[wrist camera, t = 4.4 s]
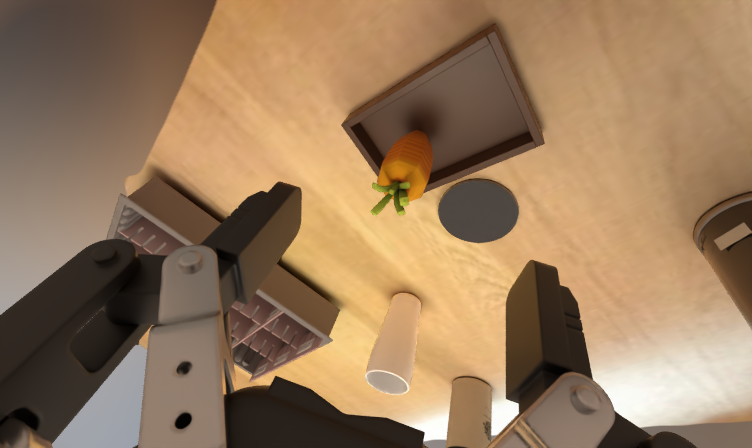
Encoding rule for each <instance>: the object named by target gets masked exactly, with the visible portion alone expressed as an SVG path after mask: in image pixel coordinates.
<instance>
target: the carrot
mask: <svg viewBox="0 0 752 448" xmlns="http://www.w3.org/2000/svg"><path fill="white" fill-rule="evenodd" d="M432 162H433V151H432V145H431V143H430V141H429V139H428V138H427V136H426V134H425V133H424V132H422V131H419V130H415V131H413V132H411V133H408V134H406V135H404V136H402V137H401V138H400V139H399V140H398V141H397V142H396V143H395V144H394V145H393V146H392V147H391V149H390V150H389V152H388V154H387V155H386V157H385V159H384V161H383V162H382V166H381V169H380V173H379V176H378V180H377V183H378V184H379V185H378V184H376V183H373V184H372V188H373V189H375V190H377V191H379V192H384V194H385V195H386V196H385V197H384V198H383V199H382V200H381V201H380V202H379V203H378V204H377V205H376V206H375V207H374V208H373V209H372V210H371V213H372V214H373V215H375V216H376V215H377V214H379V213H380V212H381V211H382V209H383V208H384V207H385V206H386V204H387V203H388V202H389V201H390V199H393V200H394V205H395V208H396V211H397V213H398V215H399V216H400V215H404V214H405V211H404V208H403V206H407V205H409V201H412V200H415V199H418V198H420V197H421V196H422V195H423V192H424V190H425V187H426V185H427V182H428V180H429V177H430V172H431V168H432Z"/></svg>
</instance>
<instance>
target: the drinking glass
mask: <svg viewBox="0 0 752 448" xmlns="http://www.w3.org/2000/svg"><path fill="white" fill-rule="evenodd" d="M420 312H421V302H420V301H419V299H418V298H417V297H415V296H414V295H412V294H409V293H398V294H396V295H394V296H393V298H392V300H391V303H390V306H389V309H388V311H387V314H386V316H385V319H384V321H383V324H382V326H381V329H380V331H379V334H378V336H377V339H376V341H375V344H374V346H373V349H372V352H371V354H370V358H369V361H368V365H367V369H366V373H365V379H366V381H367V383H368V384H369V385H370V386H372V387H373V388H375V389H376V390H379V391H381V392H384V393H387V394H392V395H401V394H405V393H406V392H408V390H409V388H410V384H411V380H412V375H413V370H414V364H415V356H416V347H417V337H418V327H419V318H420Z"/></svg>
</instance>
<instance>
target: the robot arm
mask: <svg viewBox="0 0 752 448" xmlns="http://www.w3.org/2000/svg"><path fill="white" fill-rule="evenodd" d="M301 200H302V192H301V188H300V187H296V186H293V185H290V184H287V183H283V182H278V183H276V184H275V185H274V186H273V187H272V189H271V190H270V191H269V192H268V193H267V192H264V191H260V192H258V193H256V194H254V195H251V196H249V197H248V198H247V199H246V200H244V201H243V202H242V203H241V204H240V205H239V206H238V209H237V208H236V209H235V210H234V211H233V212H232V213H231V216H228V217H227V218H226V219H225V220H224V221H223V222H222V223H221V224H220V225H219V226H218V227H217V228H216V229H215V230H214V231H213V232H212V233H211V234H210V235H209V236H208V237H207V238H206V239H205V240H204V241H203V242H202V243H201V244H200V245H188V246H184V247H181V248H179V249H177V250H175V251H173V252H172V253H170V254H169V255H148V254H137V252H136V249H135V247H134V245H133V244H132V243H130V242H128V241H126V240H122V239H109V240H103V241H100V242H97V243H94V244H92V245H90V246H88V247H86V248H85V249H84V250H82V251H81V252H80V253H78V254H77V255H76V256H75V257H73V258H72V259H71V260H70V261H68V262H67V263H66V264H65V265H63V266H62V267H61V268H59V269H58V270H57V271H56V272H54V273H53V274H52V275H51V276H49V277H48V278H47V279H45V280H44V281H43V282H42V283H40V284H39V285H38V286H37V287H35V288H34V289H33V290H32V291H30V292H29V293H28V294H27V295H26V296H24V297H23V298H21V299H20V300H19V301H18V302H16V303H15V304H14V305H13V306H11V307H10V308H9V309H8V310H6V311H5V312H4V313H3V314H2V315H0V448H52V443H53V442H54V441H55V440H56V438H57V437H58V436H59V435H60V434H61V432H62V431H63V430H64V429H65V428H66V427H67V425H68V424H69V423H70V422H71V421H72V419H73V418H74V417H75V416H76V415H77V413H78V412H79V411H80V410H81V409H82V408H83V406H84V405H85V404H86V403H87V402H88V400H89V399H90V398H91V397H92V396H93V394H94V393H95V392H96V391H97V390H98V388H99V387H100V386H101V385H102V384H103V382H104V381H105V380H106V379H107V378H108V376H109V375H110V374H111V373H112V372H113V371H114V369H115V368H116V367H117V366H118V365H119V363H120V362H121V361H122V360H123V359H124V358H125V356H126V355H127V354H128V353H129V352H130V350H131V349H132V348H133V347H134V346H135V345H136V343H137V342H138V341H139V340H140V339H141V337H142V336H143V335H144V334H145V333H146V331H147V330H148V329H149V328H150V327H151V326H152V325H154V326H152V327H151V329H150V332H149V338H148V348H147V359H146V370H145V380H144V390H143V400H142V412H141V422H140V432H139V442H138V445H137V446H135V447H133V448H427V447H426V446H425V445H423V439H424V433H425V432H423V431H420V430H417V429H415V428H412V427H409V426H407V425H404V424H401V423H399V422H396V421H394V420H391V419H388V418H382V417H371V416H359V415H348V414H344V413H342V412H341V411H339V410H338V409H337V408H335V407H334V406H333V405H331V404H330V403H329V402H327V401H326V400H325V399H323V398H322V397H321V396H319V395H318V394H317V393H315V392H314V391H313V390H311V389H309V388H306V387H304V386H301V385H299V384H296V383H293V382H291V381H288V380H285V379H283V378H280V377H277V376H275V378H274V380H273V382H272V384H271V385H270V386H266V385H264V386H252V387H247V388H243V389H240V390H237V383H236V376H235V370H234V362H233V350H232V338H231V327H230V315H229V309H230V308H231V306H232V305H233V304H234V302H235V301H237V302H240V303H242V304H245V305H247V304H248V303H249V301H250V300H251V299H252V297H253V296H254V294H255V293H256V292H257V290H258V289H259V287H260V286H261V285H262V283H263V282H264V280H265V279H266V278H267V276H268V275H269V273H270V272H271V271H272V269H273V268H274V266H275V265H276V264H277V262H278V261H279V259H280V258H281V257H282V255H283V254H284V252H285V251H286V250H287V248H288V247H289V245H290V244H291V243H292V241H293V240H294V238H295V237H296V235H297V234H298V231H299V229H300V225H301ZM693 237H694V241H695V244H696V245H697V247H698V249H699V250H700V252H701V253H702V254H703V255H704V257H705V258H706V260H707V261H708V262H709V264H710V265H711V267H712V269H713V270H714V272H715V273H716V275H717V276H718V278H719V280H720V281H721V283H722V284H723V286H724V287H725V289H726V290H727V292H728V294H729V295H730V297H731V298H732V300H733V301H734V303H735V304H736V306H737V308H738V309H739V311H740V312H741V314H742V315H743V317H744V319H745V320H746V322H747V323H748V325H749V326H750V328H751V329H752V193H749V194H744V195H741V196H738V197H735V198H732V199H730V200H727V201H725V202H723V203H721V204H719V205H717V206H716V207H714V208H713V209H711V210H710V211H708V212H707V213H706V214H705V215H704V216H703V217H702V218H701V219H700V220H699V222H698V223H697V225H696V227H695V229H694V234H693ZM101 308H102V309H101ZM100 309H101V310H100ZM99 310H100V311H99ZM98 311H99V312H98ZM97 312H98V313H97ZM96 313H97V314H96ZM95 314H96V315H95ZM94 315H95V316H94ZM93 316H94V317H93ZM92 317H93V318H92ZM91 318H92V319H91ZM90 319H91V320H90ZM89 320H90V321H89ZM88 321H89V322H88ZM87 322H88V323H87ZM86 323H87V324H86ZM85 324H86V325H85ZM84 325H85V326H84ZM83 326H84V327H83ZM82 327H83V328H82ZM582 330H583V328H582V323H581V320H580V313H579V308H578V303H577V301H576V300H575V298H574V296H573V295H572V293H571V291H570V290H569V288H567V287H564V286H561V285H560V283H559V277H558V271H557V268H556V267H554V266H551V265H547V264H544V263H541V262H538V261H534V260H530V261H529V262H528V263H527V265H526V266H525V268H524V269H523V271H522V272H521V274H520V275H519V277H518V278H517V280H516V282H515V283H514V285H513V286H512V288H511V289H510V291H509V294H508V297H507V301H506V399H508V400H510V401H513V402H516V403H519V414H518V415H517V416H516V417H515V418H514V419H513V420H512V421H511V422H510V423H509V424H508V425H507V426H506V427H505V428H504V429H503V430H502V431H501V432H500V433H499V434H498V435H497V436H496V437H495V438H494V439H493V440H492V441H491V442H490V443H489V444H488V445H487V446H486V447H485V448H696V446H694V445H693V444H692V443H691V442H689V441H688V440H686V439H685V438H683V437H681V436H679V435H677V434H675V433H672V432H660V433H657V434H655V435H653V436H651V435H649V434H648V433H646V432H645V431H643V430H642V429H640V428H639V427H637V426H636V425H634V424H633V423H631V422H630V421H628V420H627V419H625V418H624V417H622V416H621V415H619V414H618V413H617V412H615V411H614V407H613V405H612V402H611V400H610V398H609V397H608V395H607V394H606V393H605V391H604V390H603V389H602V388H601V387H600V386H599V385H598V384H597V383H596V382H595V381H593V378H592V373H591V368H590V363H589V358H588V353H587V348H586V343H585V338H584V333H583V332H582Z"/></svg>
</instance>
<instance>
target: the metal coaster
mask: <svg viewBox="0 0 752 448" xmlns="http://www.w3.org/2000/svg"><path fill="white" fill-rule="evenodd" d="M438 214H439V219H440V221H441V223H442V225H443V226H444V228H445V229H446V230H447V231H448V232H449V233H450V234H452V235H453V236H455V237H457V238H459V239H461V240H464V241H468V242H474V243H484V242H490V241H494V240H497V239H499V238H502V237H503V236H505V235H506V234H508V233H509V232H510V231H511V230H512V229H513V227H514V226H515V224H516V222H517V219H518V214H519V210H518V204H517V201H516V199H515V197H514V195H513V194H512V193H511V192H510V191H509V190H508V189H507V188H506V187H504V186H503V185H501V184H499V183H496V182H494V181H490V180H485V179H470V180H466V181H462V182H459V183H457V184H455V185H454V186H452V187H451V188H449V189H448V190H447V191H446V192H445V193H444V195H443V196H442V198H441V200H440V203H439V209H438Z"/></svg>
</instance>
